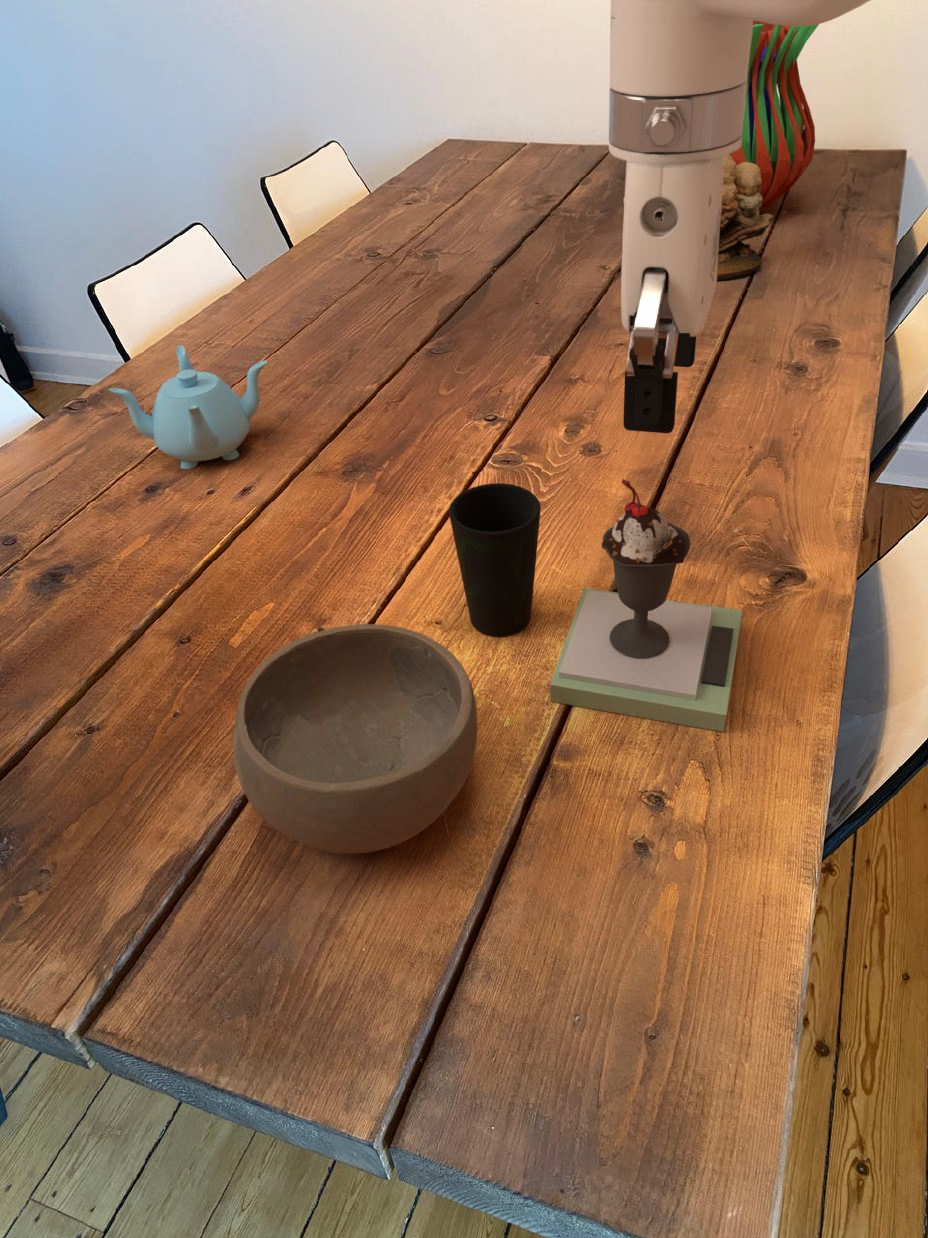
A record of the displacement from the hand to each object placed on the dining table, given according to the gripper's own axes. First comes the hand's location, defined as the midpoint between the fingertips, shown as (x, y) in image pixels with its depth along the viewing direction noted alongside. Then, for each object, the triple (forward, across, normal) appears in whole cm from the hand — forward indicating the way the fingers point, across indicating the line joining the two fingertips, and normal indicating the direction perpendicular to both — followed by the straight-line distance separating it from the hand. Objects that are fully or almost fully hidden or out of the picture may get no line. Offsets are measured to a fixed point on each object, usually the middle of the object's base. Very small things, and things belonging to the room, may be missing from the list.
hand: (660, 395), depth 65 cm
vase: (+24, +121, +8) cm, 124 cm away
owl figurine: (+25, +92, +6) cm, 96 cm away
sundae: (+23, 0, +1) cm, 23 cm away
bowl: (+25, -19, +18) cm, 36 cm away
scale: (+25, 0, 0) cm, 25 cm away
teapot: (+24, +25, +57) cm, 67 cm away
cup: (+25, +3, +14) cm, 29 cm away
